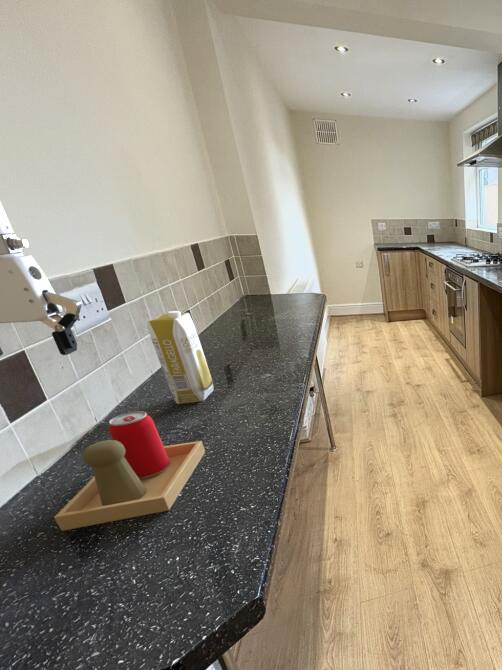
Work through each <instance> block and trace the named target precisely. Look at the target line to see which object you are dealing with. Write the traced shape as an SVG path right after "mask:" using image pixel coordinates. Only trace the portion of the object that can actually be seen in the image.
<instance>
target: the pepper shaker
mask: <svg viewBox="0 0 502 670" xmlns="http://www.w3.org/2000/svg"><path fill="white" fill-rule="evenodd" d="M124 455H125V448H124V446H123V444H122V443H121V442H119V441H116V440H113V439H108V440H107V439H106V440H101V441H98V442H96V443H93V444H91V445H88V446H87V447H86V448H85V449H84V450H83V451H82V453H81V458H82V460H83V462H84V464H85V465H86V466H89V467H91V469H92V472H93V477H94V476H95V480H96V484H97V488H98V492H99V495H100V499H101V503H102V506H106V505H112V504H117V503H123V502H128V501H134V500H139V499H140V498H142V497H143V496H144V495H145V494H146V492H147V490H146V488H145V487H144V485H143V484H142V482H141V481H140V479H139V478H138V476H137V475H136V474H135V472H134V471H133V469H132V468H131V466H130V465H129V463H128V462H127V461H126V459H125V458H124Z"/></svg>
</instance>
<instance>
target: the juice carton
mask: <svg viewBox="0 0 502 670" xmlns="http://www.w3.org/2000/svg"><path fill="white" fill-rule="evenodd" d="M146 326H147V329H148V334H149V336H150V339H151V342H152V345H153V348H154V350H155V353H156V356H157V358H158V361H159V364H160V366H161V370H162V372H163V375H164V378H165V381H166V383H167V386H168V389H169V391H170V393H171V395H172V397H173V400H174V401H175V403H176V404H177V405H181V404H182V405H183V404H193V403H202V402H205V400H206V399H207V398H208V397H209V396H210V395H211V394H212V393H213V392H214V390H215V389H214V382H213V378H212V375H211V372H210V369H209V365H208V363H207V359H206V356H205V354H204V353H205V352H204V350H203V347H202V344H201V341H200V338H199V335H198V332H197V329H196V325H195V323H194V321H193V318H192V317H191V314H190V312H182V311H180V310H170V311H167V313H162V314H160V315H158V316H157V317H155V318H153V319H149V320H147V321H146Z"/></svg>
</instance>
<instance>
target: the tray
mask: <svg viewBox="0 0 502 670" xmlns="http://www.w3.org/2000/svg"><path fill="white" fill-rule="evenodd" d="M163 446H164V449H165V451H166V454H167V456H168V458H169V461H170V464H169V466H168V467H167V468H166V469H165V470H164V471H163V472H161V473H159V474H157V475H155V476H152V477H149V478H142V479H141V478H139V479H140V481H141V482H142V484H143V485H144V487H145V488H146V490H147V492H146V494H145V495H144V496H143V497H142V498H140V499H139V500H134V501H128V502H123V503H117V504H112V505H106V506H102V503H101V499H100V495H99V492H98V488H97V484H96V480H95V476H94V475H93V476H92V478H91V479H90V480H89V481H88V482H87V483H86V484H85V485H84V486H83V487H82V488H81V489H80V490H79V491H78V492H77V494H75V495H74V496H73V497H72V498H71V499H70V501H69V502H67V504H65V506H64V507H63V508H62V509H60V511H58V513H57V514H55V516H54V517H53V518H54V521H55V522H56V524H57V525H58V527H59V529H60V530H61V532H63V531H69V530H74V529H80V528H84V527H90V526H94V525H99V524H105V523H110V522H114V521H121V520H125V519H131V518H136V517H142V516H146V515H152V514H157V513H158V514H159V513H162V512H168V511H170V510H171V508H172V506H173V505H174V504H175V502H176V500H177V499H178V497H179V495H180V494H181V492H182V491H183V489H184V487H185V485H186V484H187V483H188V481H189V479H190V478H191V476H192V475H193V473H194V471H195V470H196V468H197V466H198V465H199V463H200V461H202V459H203V456H204V455H205V453H206V449H205V447H204V444H203V441H202V440H198V441H190V442H184V443H178V444H170V445H163Z"/></svg>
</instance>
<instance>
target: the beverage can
mask: <svg viewBox="0 0 502 670" xmlns="http://www.w3.org/2000/svg"><path fill="white" fill-rule="evenodd" d="M108 424H109V427H108V432H109V435H110V437H111V440H116V441H119V442H121V443H122V444H123V446H124V448H125V455H124V458H125V459H126V461H127V462H128V463H129V465H130V466H131V468H132V469H133V471H134V472H135V474H136V475H137V476H138V478H141V479H142V478H149V477H152V476H155V475H157V474H159V473H161V472H163V471H164V470H165V469H166V468H167V467H168V466H169V464H170V461H169V458H168V456H167V454H166V451H165V449H164V446H165V445H164V444H163V441H162V439H161V437H160V435H159V432H158V429H157V427H156V425H155V422H154V420H153V418H152V417H151V416H149V414H147V412H145V411H143V410H136V411H135V410H134V411H129V412H126V413H122V414H119V415H117V416H114V417H112V418H111V419H110V420H109V422H108Z"/></svg>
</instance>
